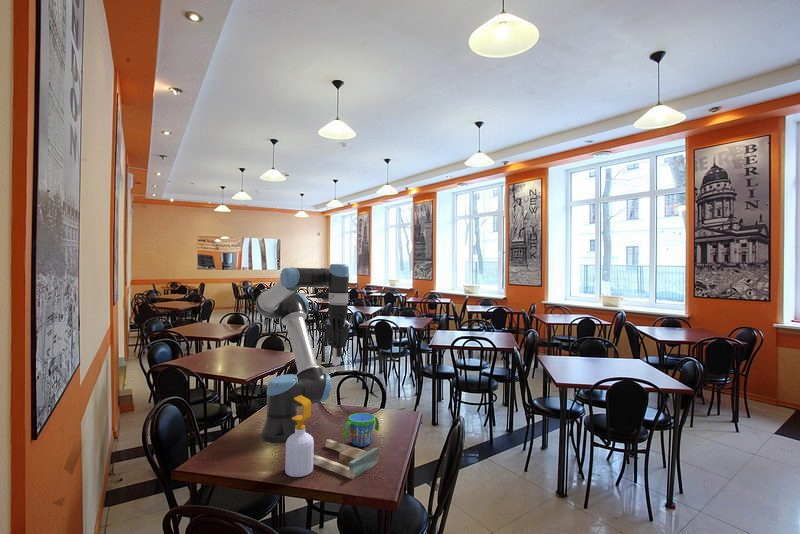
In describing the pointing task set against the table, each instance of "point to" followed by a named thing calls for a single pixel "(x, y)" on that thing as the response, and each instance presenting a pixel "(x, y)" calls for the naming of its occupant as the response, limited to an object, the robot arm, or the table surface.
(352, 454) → the block
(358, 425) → the snack cup
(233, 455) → the table surface
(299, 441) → the soap bottle
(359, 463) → the lane
